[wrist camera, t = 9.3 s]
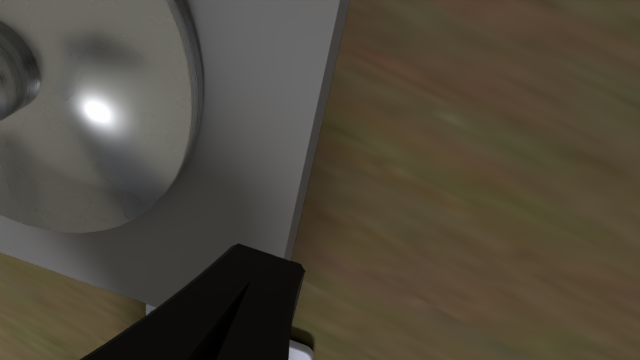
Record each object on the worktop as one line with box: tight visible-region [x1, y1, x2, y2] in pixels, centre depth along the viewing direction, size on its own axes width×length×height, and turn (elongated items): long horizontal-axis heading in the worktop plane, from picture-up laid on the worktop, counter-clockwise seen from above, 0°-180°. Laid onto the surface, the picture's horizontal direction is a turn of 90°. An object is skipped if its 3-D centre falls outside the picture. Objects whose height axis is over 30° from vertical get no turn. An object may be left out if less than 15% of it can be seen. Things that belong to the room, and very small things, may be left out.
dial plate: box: [0, 0, 350, 308], centre depth 19 cm, size 20×20×2 cm
